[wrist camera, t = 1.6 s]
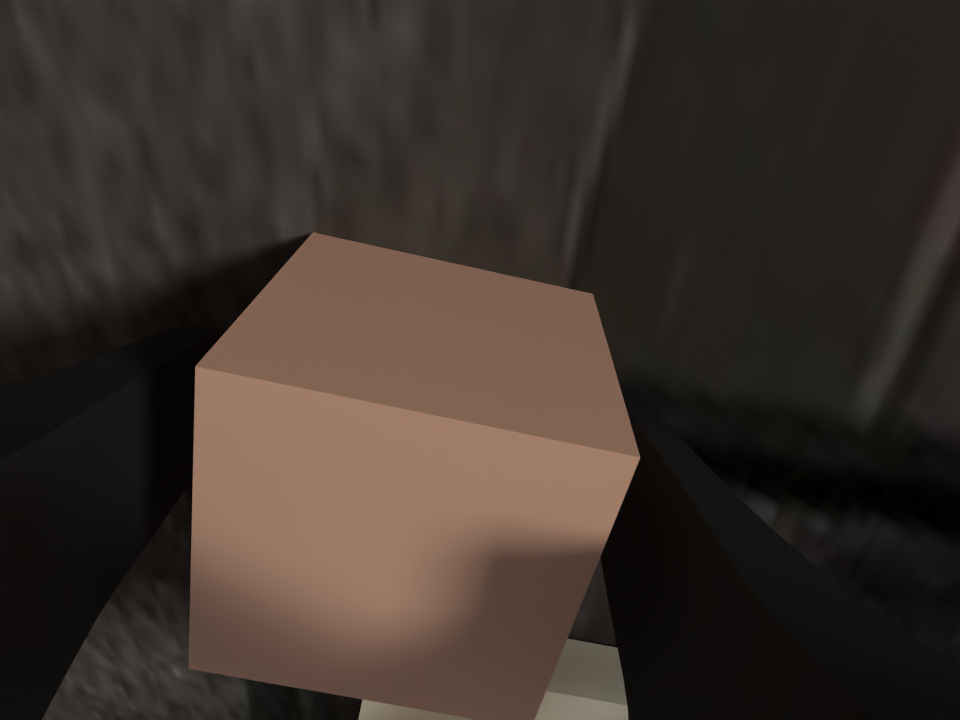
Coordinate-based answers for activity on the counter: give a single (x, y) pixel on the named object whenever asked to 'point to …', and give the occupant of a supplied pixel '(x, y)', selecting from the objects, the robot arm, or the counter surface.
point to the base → (552, 690)
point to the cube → (403, 481)
